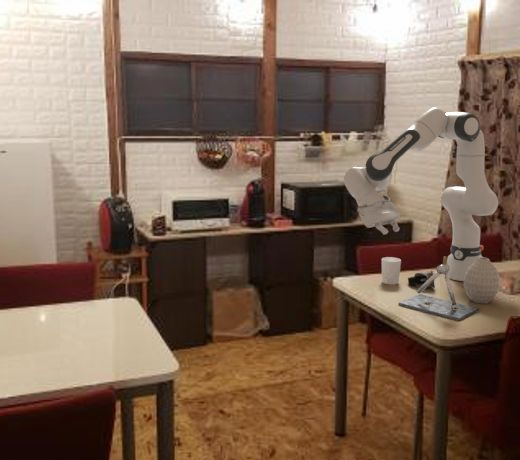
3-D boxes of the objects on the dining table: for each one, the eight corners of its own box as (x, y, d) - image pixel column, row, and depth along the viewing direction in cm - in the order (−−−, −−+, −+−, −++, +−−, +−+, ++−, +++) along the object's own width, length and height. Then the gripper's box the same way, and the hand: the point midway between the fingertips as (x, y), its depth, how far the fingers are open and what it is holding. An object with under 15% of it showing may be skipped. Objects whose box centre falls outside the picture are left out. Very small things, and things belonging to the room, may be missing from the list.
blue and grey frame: (419, 296, 234) (422, 248, 230) (478, 310, 217) (482, 259, 214) (398, 305, 224) (400, 254, 220) (458, 320, 207) (462, 266, 203)
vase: (501, 299, 230) (505, 257, 227) (493, 308, 220) (497, 264, 217) (467, 293, 237) (470, 252, 234) (458, 302, 227) (461, 259, 224)
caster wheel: (408, 288, 254) (432, 285, 252) (410, 290, 243) (436, 287, 241) (406, 272, 254) (430, 269, 253) (408, 273, 243) (434, 271, 242)
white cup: (376, 282, 253) (377, 259, 251) (388, 278, 259) (389, 256, 257) (392, 286, 248) (393, 262, 246) (403, 282, 253) (404, 259, 251)
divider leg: (416, 288, 225) (442, 262, 216) (422, 294, 224) (448, 269, 215) (414, 289, 224) (440, 263, 215) (420, 295, 223) (446, 270, 214)
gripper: (360, 201, 225) (381, 230, 220) (391, 196, 239) (411, 223, 234) (350, 211, 229) (371, 240, 224) (381, 206, 243) (401, 233, 238)
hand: (392, 232), depth 229 cm, fingers open, 6 cm apart
